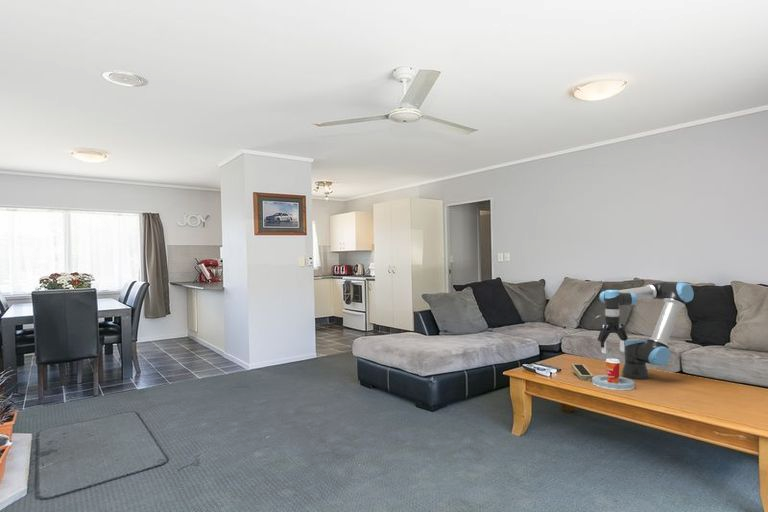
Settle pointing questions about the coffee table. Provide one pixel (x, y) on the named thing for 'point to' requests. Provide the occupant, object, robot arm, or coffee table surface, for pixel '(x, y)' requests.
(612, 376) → the paper cup
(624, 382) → the ring tray
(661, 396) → the coffee table surface
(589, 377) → the box
